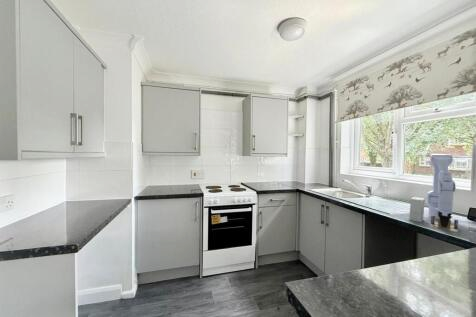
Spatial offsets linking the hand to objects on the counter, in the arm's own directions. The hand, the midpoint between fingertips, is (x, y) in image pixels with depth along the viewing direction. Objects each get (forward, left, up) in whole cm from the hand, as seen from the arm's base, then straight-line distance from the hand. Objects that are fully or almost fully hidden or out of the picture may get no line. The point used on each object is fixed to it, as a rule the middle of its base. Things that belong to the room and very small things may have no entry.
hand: (444, 225), depth 116 cm
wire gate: (-5, 0, -2) cm, 5 cm away
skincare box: (-8, -12, -2) cm, 15 cm away
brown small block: (0, 0, -1) cm, 1 cm away
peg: (0, 0, -2) cm, 2 cm away
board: (-5, 0, -2) cm, 6 cm away
